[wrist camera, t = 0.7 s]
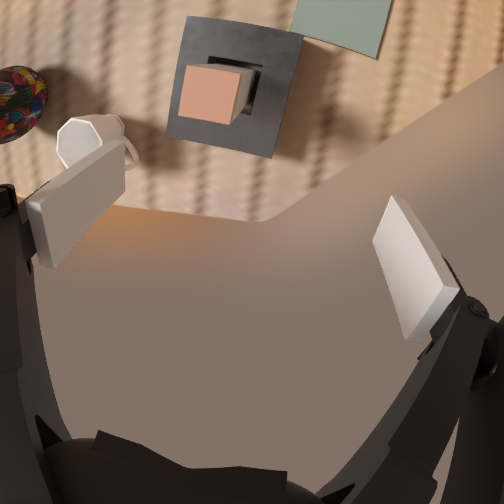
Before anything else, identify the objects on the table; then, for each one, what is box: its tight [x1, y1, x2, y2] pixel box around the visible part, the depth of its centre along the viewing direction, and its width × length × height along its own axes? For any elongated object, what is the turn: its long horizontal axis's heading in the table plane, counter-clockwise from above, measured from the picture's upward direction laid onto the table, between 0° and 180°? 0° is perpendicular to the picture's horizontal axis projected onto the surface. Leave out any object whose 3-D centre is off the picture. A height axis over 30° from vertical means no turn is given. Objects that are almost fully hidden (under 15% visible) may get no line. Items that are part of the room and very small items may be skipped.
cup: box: [57, 114, 139, 171], centre depth 33 cm, size 7×10×8 cm
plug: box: [178, 64, 257, 125], centre depth 26 cm, size 4×4×14 cm
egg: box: [0, 66, 48, 144], centre depth 27 cm, size 11×11×15 cm
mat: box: [290, 0, 391, 59], centre depth 25 cm, size 10×10×1 cm
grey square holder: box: [166, 16, 304, 158], centre depth 30 cm, size 14×12×4 cm
